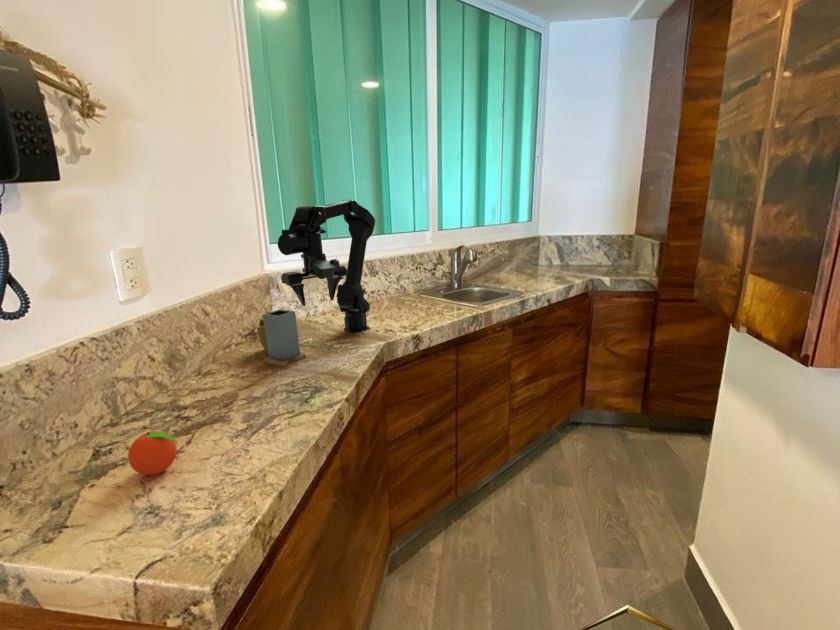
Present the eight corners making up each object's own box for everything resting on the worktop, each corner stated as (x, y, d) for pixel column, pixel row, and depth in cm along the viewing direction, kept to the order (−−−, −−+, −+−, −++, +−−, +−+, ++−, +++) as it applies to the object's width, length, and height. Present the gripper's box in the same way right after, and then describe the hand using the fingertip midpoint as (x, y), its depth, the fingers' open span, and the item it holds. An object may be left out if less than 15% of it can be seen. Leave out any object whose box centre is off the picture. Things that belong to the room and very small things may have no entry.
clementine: (194, 457, 78) (186, 421, 76) (174, 482, 71) (165, 442, 69) (147, 460, 78) (139, 423, 76) (123, 485, 71) (113, 445, 69)
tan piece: (286, 353, 130) (284, 336, 129) (305, 357, 126) (303, 340, 125) (264, 362, 124) (261, 345, 122) (284, 366, 119) (281, 348, 118)
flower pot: (260, 356, 128) (255, 326, 126) (262, 347, 136) (258, 319, 134) (291, 352, 130) (288, 323, 128) (292, 344, 139) (288, 316, 136)
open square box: (285, 351, 129) (279, 309, 125) (300, 354, 125) (294, 311, 122) (268, 358, 124) (262, 314, 120) (283, 361, 121) (277, 316, 117)
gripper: (294, 256, 117) (301, 313, 121) (354, 248, 129) (359, 301, 133) (277, 253, 126) (284, 307, 130) (335, 246, 137) (340, 296, 141)
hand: (318, 303), depth 133 cm, fingers open, 9 cm apart
